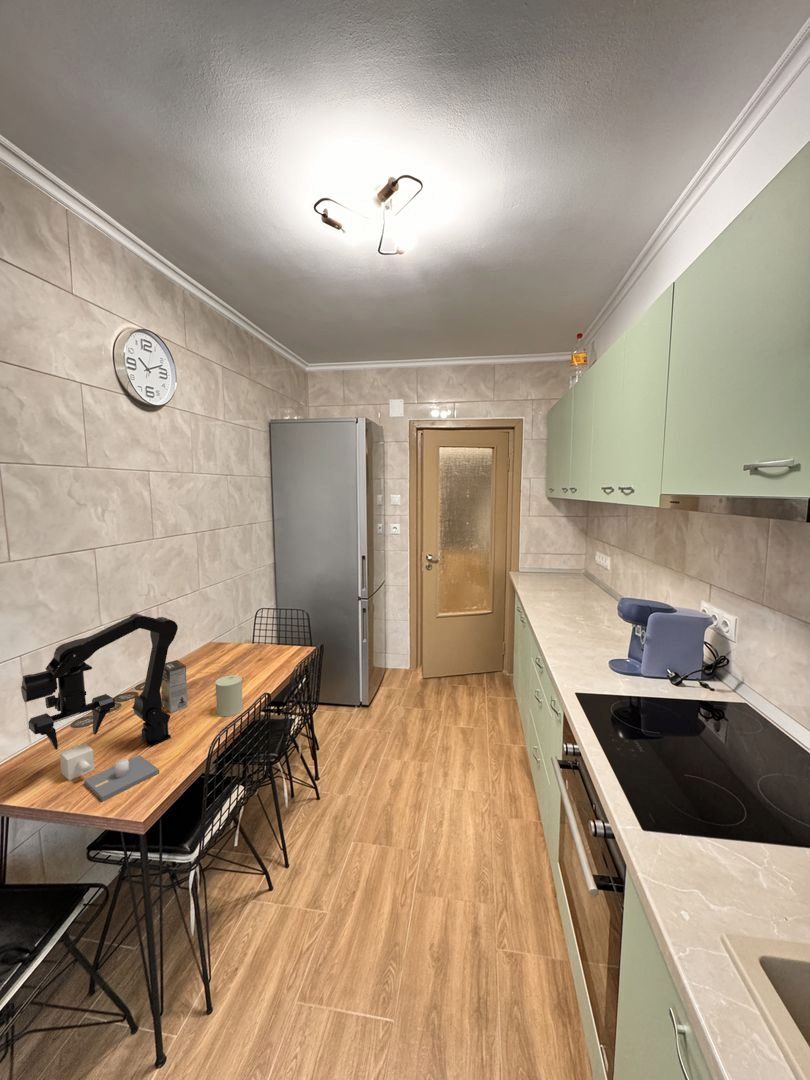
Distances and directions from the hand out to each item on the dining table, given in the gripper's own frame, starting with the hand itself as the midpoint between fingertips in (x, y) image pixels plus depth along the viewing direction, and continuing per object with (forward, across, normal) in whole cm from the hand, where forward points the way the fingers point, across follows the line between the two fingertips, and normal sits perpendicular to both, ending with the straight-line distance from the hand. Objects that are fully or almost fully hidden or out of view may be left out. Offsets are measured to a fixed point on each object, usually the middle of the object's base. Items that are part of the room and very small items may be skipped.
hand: (76, 741), depth 122 cm
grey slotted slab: (+9, -6, +14) cm, 18 cm away
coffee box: (+9, -36, -17) cm, 41 cm away
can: (+9, -46, +3) cm, 47 cm away
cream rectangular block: (+9, 0, +2) cm, 9 cm away
